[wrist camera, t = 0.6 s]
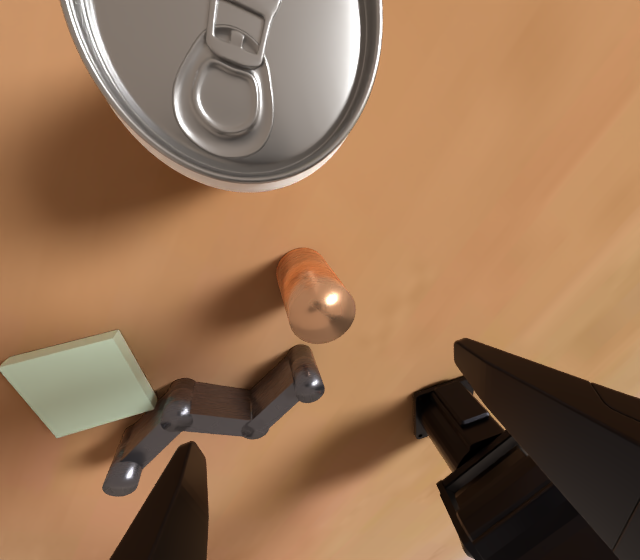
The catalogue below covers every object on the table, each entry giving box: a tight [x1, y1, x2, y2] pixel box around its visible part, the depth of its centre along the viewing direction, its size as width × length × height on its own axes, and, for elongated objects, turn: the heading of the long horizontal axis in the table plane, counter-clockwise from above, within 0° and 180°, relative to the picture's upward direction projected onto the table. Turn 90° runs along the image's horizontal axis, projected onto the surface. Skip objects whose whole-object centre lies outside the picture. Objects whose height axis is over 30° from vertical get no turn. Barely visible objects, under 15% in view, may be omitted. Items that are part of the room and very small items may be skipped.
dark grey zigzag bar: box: [102, 345, 325, 496], centre depth 22 cm, size 5×16×4 cm, turn 99°
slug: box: [276, 248, 356, 344], centre depth 18 cm, size 4×4×6 cm
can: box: [60, 0, 383, 192], centre depth 11 cm, size 6×6×12 cm
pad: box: [0, 329, 158, 438], centre depth 20 cm, size 6×6×1 cm
